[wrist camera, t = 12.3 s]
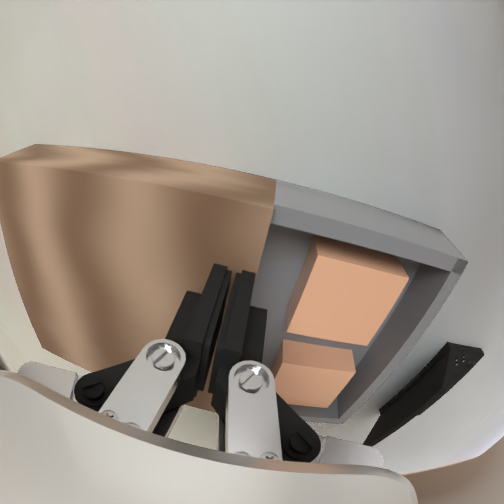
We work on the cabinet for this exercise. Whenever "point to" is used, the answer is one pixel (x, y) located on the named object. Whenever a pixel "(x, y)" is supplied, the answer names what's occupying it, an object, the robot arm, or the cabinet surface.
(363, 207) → the box
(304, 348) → the tile
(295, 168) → the cabinet surface
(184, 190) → the board
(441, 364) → the black sloped piece
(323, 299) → the tile
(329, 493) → the robot arm
